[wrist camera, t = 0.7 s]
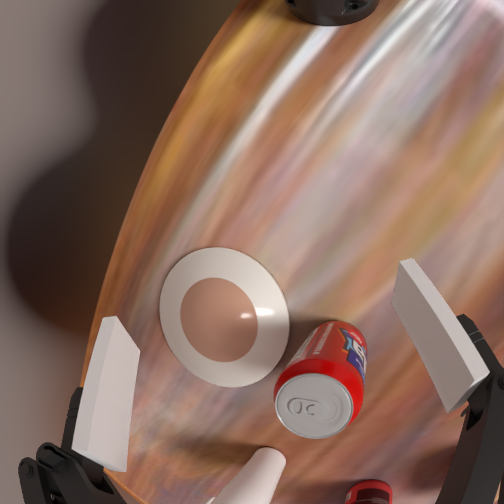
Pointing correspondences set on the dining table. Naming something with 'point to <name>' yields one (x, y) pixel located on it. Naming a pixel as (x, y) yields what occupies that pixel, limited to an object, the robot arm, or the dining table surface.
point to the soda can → (323, 382)
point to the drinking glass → (254, 479)
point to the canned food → (369, 493)
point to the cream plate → (224, 316)
